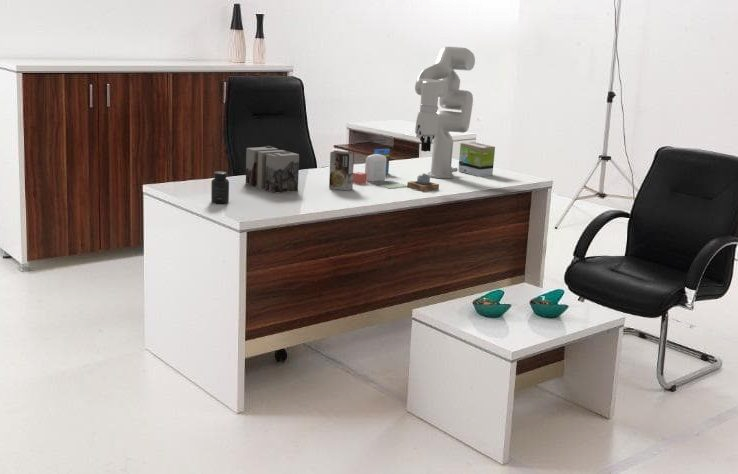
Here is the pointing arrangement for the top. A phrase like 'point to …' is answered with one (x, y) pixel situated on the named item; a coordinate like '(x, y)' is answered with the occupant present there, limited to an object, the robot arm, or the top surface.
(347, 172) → the coffee box
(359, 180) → the die
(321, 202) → the top surface
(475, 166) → the tea box
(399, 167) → the top surface
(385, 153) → the blue retail box
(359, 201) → the top surface
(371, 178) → the photo printer
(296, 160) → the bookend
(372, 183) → the pad
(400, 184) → the pad
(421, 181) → the dome
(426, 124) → the robot arm
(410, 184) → the frame
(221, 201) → the supplement bottle
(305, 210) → the top surface
